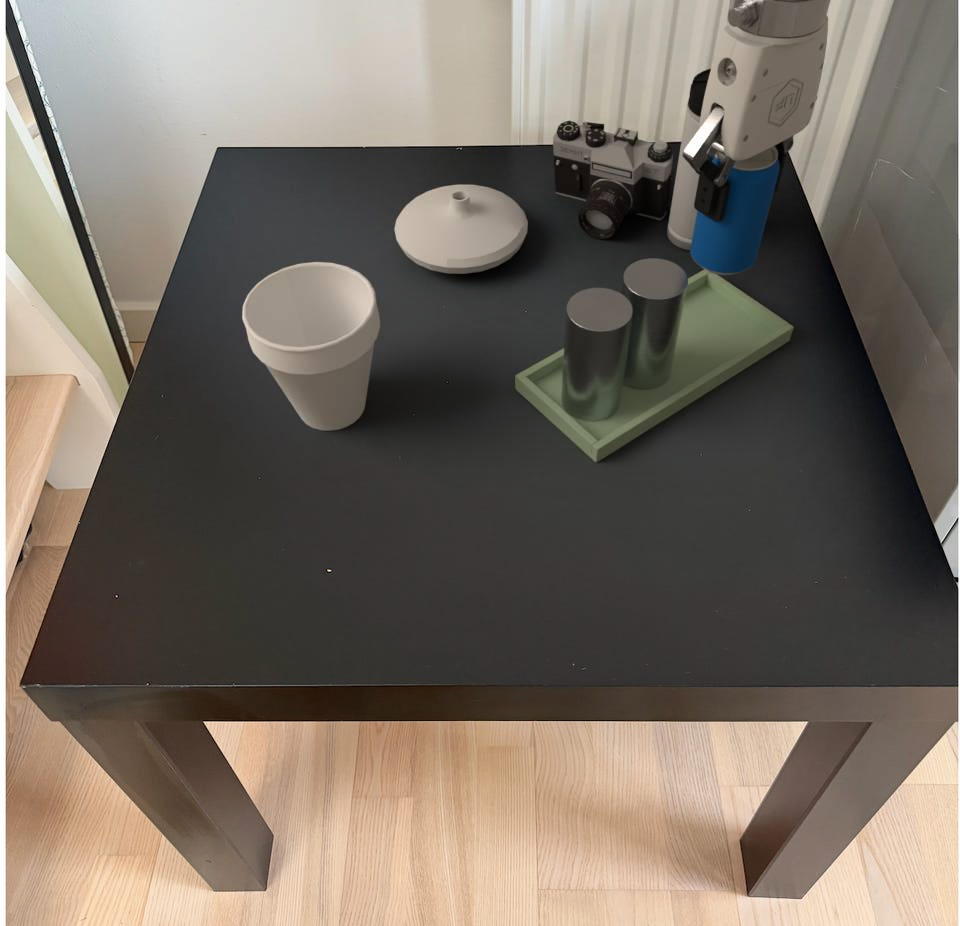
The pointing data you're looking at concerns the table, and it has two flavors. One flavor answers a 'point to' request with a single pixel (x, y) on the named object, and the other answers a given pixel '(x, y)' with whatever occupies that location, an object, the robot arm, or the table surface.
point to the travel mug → (687, 171)
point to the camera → (611, 175)
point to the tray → (695, 369)
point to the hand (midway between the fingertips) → (735, 198)
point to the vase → (461, 229)
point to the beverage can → (738, 216)
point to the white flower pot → (316, 338)
